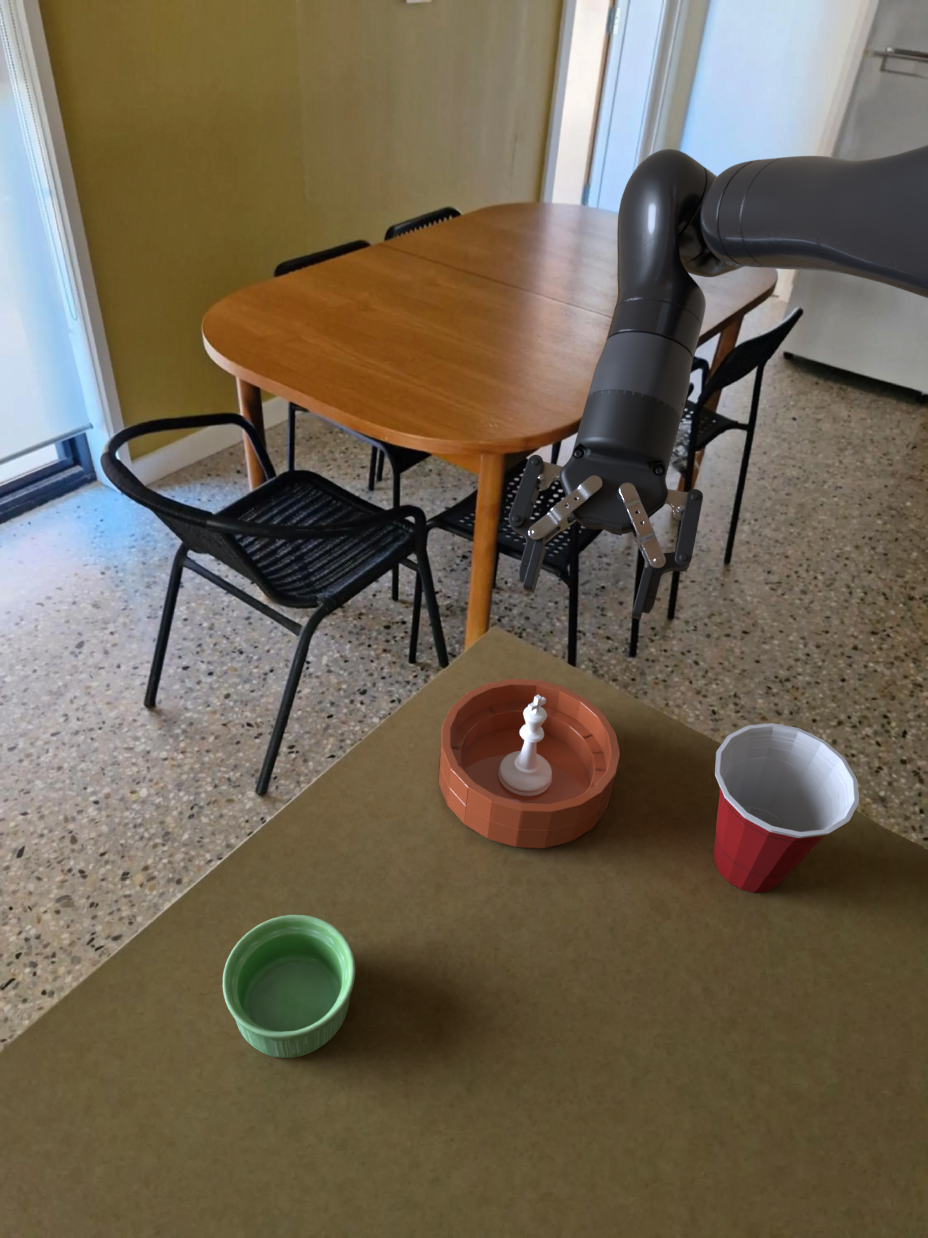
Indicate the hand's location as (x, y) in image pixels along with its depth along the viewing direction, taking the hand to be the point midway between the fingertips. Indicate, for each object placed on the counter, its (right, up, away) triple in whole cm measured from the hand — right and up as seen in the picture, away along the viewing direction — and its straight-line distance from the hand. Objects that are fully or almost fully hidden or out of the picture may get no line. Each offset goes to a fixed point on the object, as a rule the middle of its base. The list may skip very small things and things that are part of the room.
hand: (581, 603), depth 68 cm
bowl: (-4, -16, +13) cm, 21 cm away
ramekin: (-21, -29, -4) cm, 36 cm away
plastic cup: (+15, -22, +7) cm, 28 cm away
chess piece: (-3, -16, +13) cm, 21 cm away
